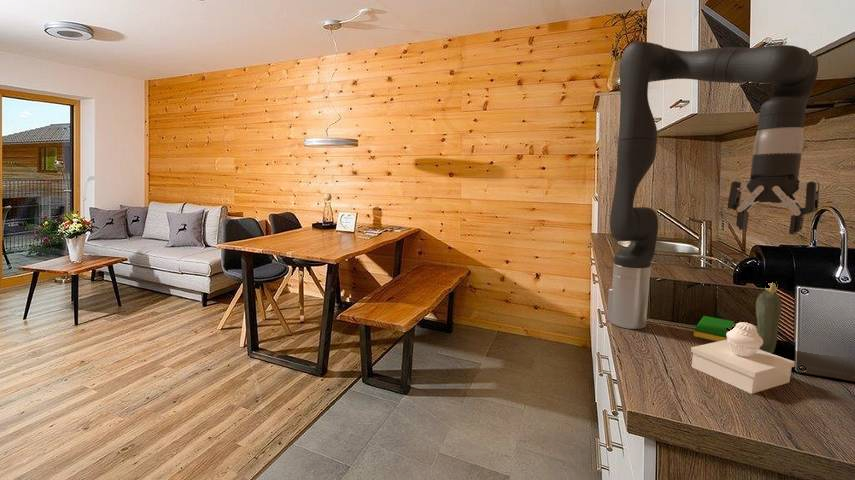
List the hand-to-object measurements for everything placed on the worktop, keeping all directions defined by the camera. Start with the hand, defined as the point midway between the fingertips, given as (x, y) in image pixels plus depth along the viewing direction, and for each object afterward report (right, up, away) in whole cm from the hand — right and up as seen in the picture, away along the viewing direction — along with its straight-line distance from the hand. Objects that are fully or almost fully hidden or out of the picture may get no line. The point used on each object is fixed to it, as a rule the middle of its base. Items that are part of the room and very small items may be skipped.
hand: (766, 231), depth 84 cm
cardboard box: (-5, -31, +2) cm, 31 cm away
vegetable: (+5, -29, +8) cm, 31 cm away
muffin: (-5, -26, +1) cm, 26 cm away
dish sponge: (+7, -27, +25) cm, 37 cm away
